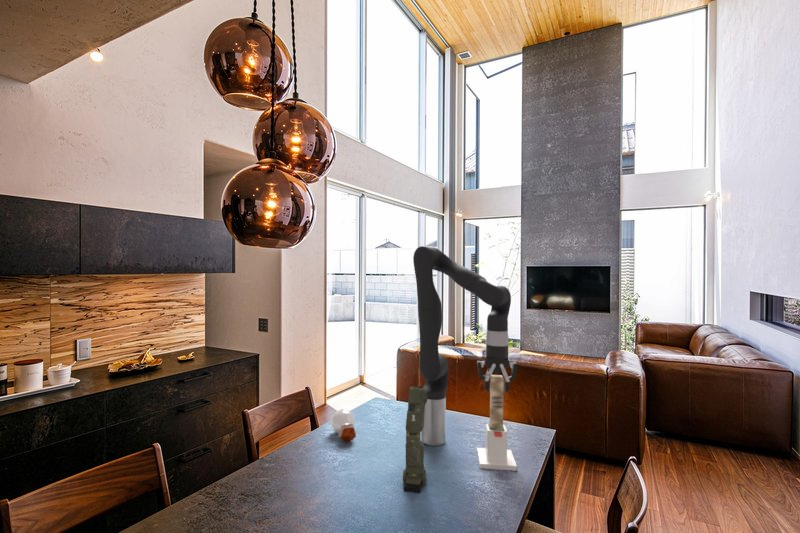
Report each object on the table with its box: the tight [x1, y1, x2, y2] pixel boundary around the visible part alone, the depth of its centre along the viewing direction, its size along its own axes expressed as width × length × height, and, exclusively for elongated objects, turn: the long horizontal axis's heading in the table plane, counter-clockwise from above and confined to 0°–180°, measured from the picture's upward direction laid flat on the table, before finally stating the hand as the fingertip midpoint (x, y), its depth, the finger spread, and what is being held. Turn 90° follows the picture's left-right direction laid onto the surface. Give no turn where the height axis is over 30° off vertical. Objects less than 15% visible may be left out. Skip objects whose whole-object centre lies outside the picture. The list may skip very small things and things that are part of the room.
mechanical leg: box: [402, 385, 427, 494], centre depth 124 cm, size 14×7×30 cm, turn 169°
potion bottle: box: [330, 408, 357, 444], centre depth 156 cm, size 9×10×15 cm
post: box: [488, 374, 505, 431], centre depth 137 cm, size 4×4×22 cm
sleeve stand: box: [476, 423, 518, 472], centre depth 137 cm, size 12×12×12 cm
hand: (496, 391), depth 137 cm, fingers open, 5 cm apart
